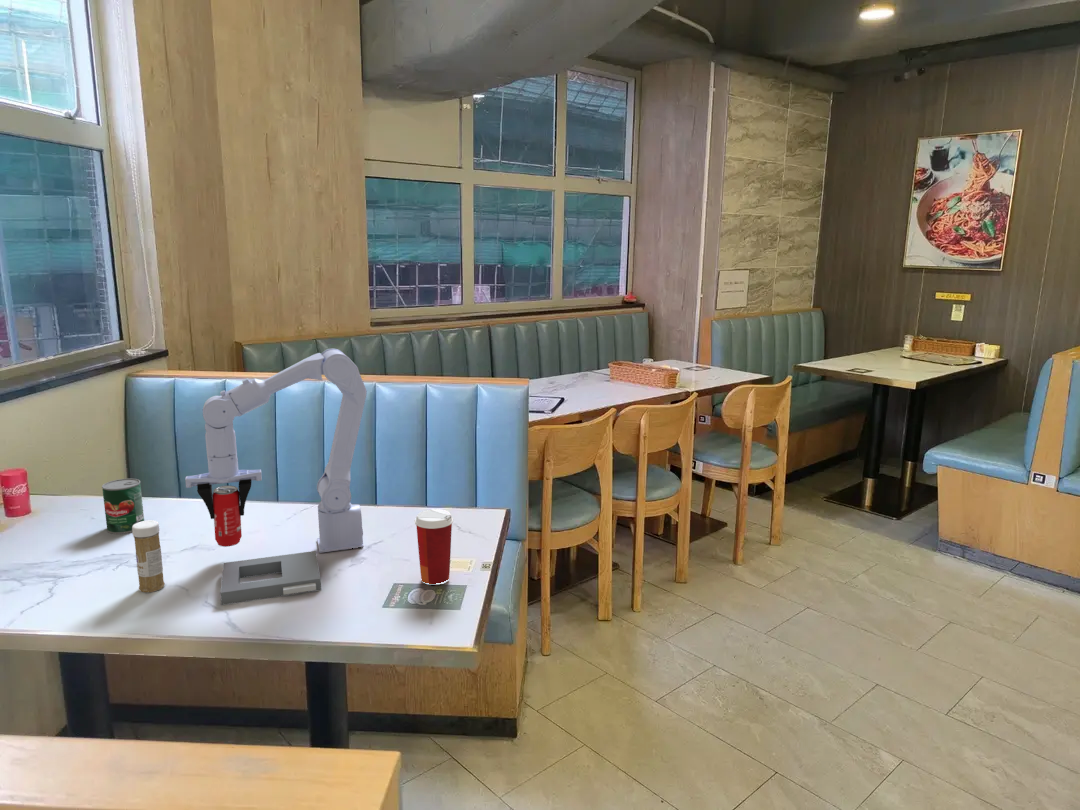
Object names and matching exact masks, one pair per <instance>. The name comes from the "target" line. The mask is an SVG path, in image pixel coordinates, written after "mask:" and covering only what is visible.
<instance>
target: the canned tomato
mask: <svg viewBox="0 0 1080 810" xmlns="http://www.w3.org/2000/svg"><path fill="white" fill-rule="evenodd" d="M101 489H102V496H103V505H104V514H105V523H106V531H107V532H108V533H109V534H113V535H121V534H122V535H123V534H129V533H133V532H132V526H133V525H134V524H136V523H138V522H141V521H145V515H144V506H143V505H144V504H143V496H142V494H143V493H142V487H141V480H140V479H137V478H119V479H115V480H110V481H107V482H105V483H103V484H102V485H101Z"/></svg>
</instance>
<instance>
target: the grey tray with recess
mask: <svg viewBox="0 0 1080 810" xmlns="http://www.w3.org/2000/svg"><path fill="white" fill-rule="evenodd" d="M279 573H281V577H275V578H274V577H273V578H268V579H262V580H261V579H260V580H254V581H246V582H241V579H244V578H250V577H257V576H264V575H273V574H279ZM321 581H322V578H321V573H320V568H319V562H318V556H317V552H316V550H312V551H303V552H298V553H289V554H281V555H273V556H267V557H258V558H251V559H250V558H249V559H243V560H236V561H235V560H234V561H228V562H224V563H223V567H222V576H221V583H220V584H221V585H220V593H219V594H220V602H221V603H220V605H221V606H225V605H232V604H238V603H246V602H252V601H258V600H265V599H270V598H278V597H286V596H291V595H298V594H306V593H312V592H319V591H320V592H321V591H322V582H321Z"/></svg>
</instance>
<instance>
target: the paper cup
mask: <svg viewBox="0 0 1080 810" xmlns="http://www.w3.org/2000/svg"><path fill="white" fill-rule="evenodd" d="M453 523H454V518H453V517H452V514H451V512H449V511H448V510H445V509H439V508H438V509H437V508H434V509H426V510H422V511H420V512H418V514H417V515H416V517H415V519H414V525H415V526H416V537H417V549H418V558H419V567H420V568H419V569H420V578H421V579H422V580H421V579H420V580H421V582H422V581H423V582H425V583H429V584H436V583H441V582H444V581H446V580H448V579H449V580H450V574H451V571H450V569H451V568H450V567H451V554H452V553H451V550H452V530H453V529H452V528H453V527H452V526H453Z"/></svg>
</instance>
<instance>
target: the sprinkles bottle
mask: <svg viewBox="0 0 1080 810" xmlns="http://www.w3.org/2000/svg"><path fill="white" fill-rule="evenodd" d="M131 533H132V536H133V538H134V546H135V558H136V559H135V560H136V570H137V575H138V576H137V577H138V583H139V584H138V585H139V586H138V590H139V591H140V592H142V593H153V592H157V591H159V590H161V589H163V588H164V587H165V585H166V584H165V582H164V567H163V559H162V558H163V557H162V547H161V543H160V542H161V541H160V524H159V522H158V521H157V520H153V519H152V520H151V519H149V520H148V519H147V520H144V521H141V522H138V523H136V524H134V525H133V526H132V532H131Z"/></svg>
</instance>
